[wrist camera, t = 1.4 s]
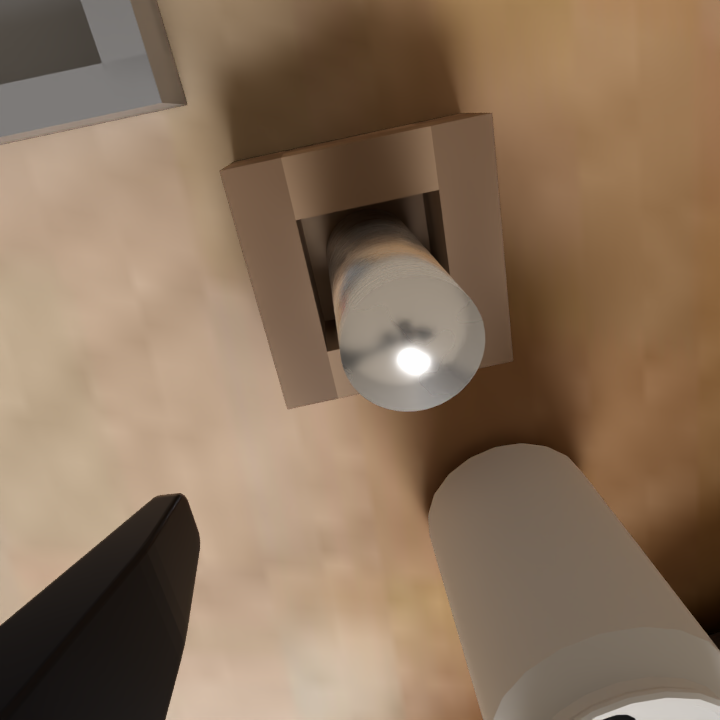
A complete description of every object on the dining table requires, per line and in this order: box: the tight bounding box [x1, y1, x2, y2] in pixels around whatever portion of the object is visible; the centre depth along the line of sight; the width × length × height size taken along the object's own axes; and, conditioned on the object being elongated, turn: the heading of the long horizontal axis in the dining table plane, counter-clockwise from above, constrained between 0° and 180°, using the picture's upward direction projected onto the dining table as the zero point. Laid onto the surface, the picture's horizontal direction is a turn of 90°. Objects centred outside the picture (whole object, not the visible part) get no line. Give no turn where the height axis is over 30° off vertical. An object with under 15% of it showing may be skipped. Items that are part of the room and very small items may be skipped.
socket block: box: [220, 113, 513, 409], centre depth 19 cm, size 8×8×4 cm
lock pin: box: [327, 209, 485, 412], centre depth 16 cm, size 3×3×9 cm
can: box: [428, 443, 720, 720], centre depth 21 cm, size 8×8×12 cm
